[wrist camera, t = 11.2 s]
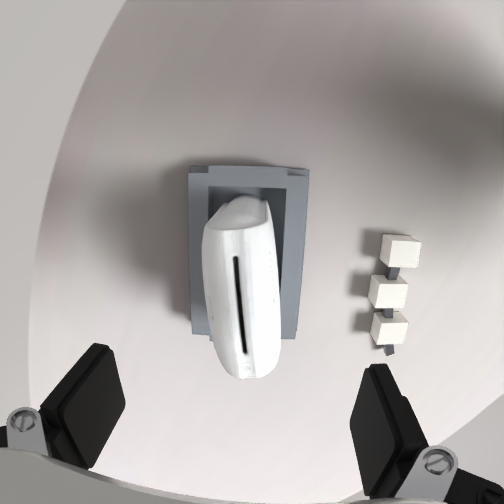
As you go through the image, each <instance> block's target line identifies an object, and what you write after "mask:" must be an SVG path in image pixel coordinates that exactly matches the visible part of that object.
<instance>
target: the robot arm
mask: <svg viewBox="0 0 504 504" xmlns="http://www.w3.org/2000/svg"><path fill="white" fill-rule="evenodd" d="M40 407H41V408H40V410H39V411H37V410H35V409H33V408H29V407H22V408H19V409H17V410H15V411H13V412H12V413H11V414H10V415H9V416H8V419H7V423H6V424H7V425H6V426H2V427H0V504H265V503H247V502H235V501H224V500H216V499H208V498H201V497H194V496H188V495H182V494H176V493H171V492H166V491H161V490H157V489H152V488H148V487H143V486H139V485H135V484H132V483H128V482H124V481H121V480H117V479H114V478H110V477H107V476H104V475H101V474H98V473H94V472H91V471H88V469H89V468H92V467H93V466H94V464H95V463H96V461H97V459H98V457H99V455H100V453H101V451H102V449H103V447H104V446H105V444H106V442H107V440H108V438H109V436H110V434H111V432H112V431H113V429H114V427H115V425H116V423H117V421H118V419H119V418H120V416H121V414H122V412H123V410H124V408H125V398H124V394H123V390H122V386H121V382H120V378H119V374H118V370H117V366H116V361H115V357H114V353H113V351H112V350H111V349H110V348H109V346H108V345H104V344H98V343H94V344H92V345H91V346H90V348H89V349H88V350H87V351H86V352H85V353H84V354H83V356H82V357H81V358H80V359H79V360H78V361H77V363H76V364H75V365H74V366H73V367H72V368H71V370H70V371H69V372H68V373H67V374H66V375H65V377H64V378H63V379H62V380H61V381H60V382H59V384H58V385H57V386H56V387H55V388H54V390H53V391H52V392H51V393H50V394H49V396H48V397H47V398H46V399H45V401H44V402H43V403H42V404H41V405H40ZM350 430H351V434H352V438H353V443H354V447H355V452H356V456H357V461H358V465H359V470H360V475H361V480H362V484H363V489H364V494H365V496H369V497H370V500H361V501H352V502H337V503H317V504H504V489H503V488H502V487H501V486H500V485H498V484H496V483H494V482H491V481H489V480H486V479H484V478H481V477H478V476H476V475H473V474H471V473H468V472H466V471H464V470H461V469H459V468H457V467H458V459H457V457H456V455H455V453H453V452H452V451H451V450H450V449H448V448H446V447H443V446H430V447H429V445H428V443H427V440H426V438H425V436H424V433H423V431H422V429H421V427H420V425H419V422H418V420H417V418H416V416H415V414H414V411H413V409H412V407H411V405H410V403H409V401H408V399H407V398H406V397H405V396H402V395H401V393H400V390H399V388H398V386H397V384H396V382H395V380H394V378H393V376H392V374H391V371H390V369H389V367H388V365H387V364H371V365H370V367H369V368H366V369H365V371H364V374H363V378H362V381H361V385H360V388H359V392H358V395H357V399H356V402H355V405H354V408H353V412H352V415H351V418H350Z"/></svg>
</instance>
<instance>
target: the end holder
mask: <svg viewBox="0 0 504 504" xmlns="http://www.w3.org/2000/svg"><path fill="white" fill-rule="evenodd" d="M308 183H309V170H304V169H287V168H286V167H267V166H234V165H209V166H190V173H188V247H189V282H190V305H191V324H192V334H198V335H210V341H213V339H212V335H211V330H210V325H209V319H208V313H207V307H206V300H205V292H204V282H203V270H202V241H203V232H204V227H205V225H206V224H207V223H208V221H209V220H210V219H211V218H212V217H213V216H214V215H215V213H216V212H217V211H218V210H219V209H220V207H221V206H222V205H223V204H224V203H229V202H230V201H231V200H232V199H234V198H235V197H237V196H240V195H254V196H256V197H258V198H260V199H261V200H267V202H268V205H269V208H270V212H271V217H272V223H273V230H274V238H275V246H276V256H277V267H278V279H279V294H280V315H281V339H295V335H296V331H297V323H298V313H299V303H300V293H301V282H302V270H303V258H304V246H305V232H306V217H307V201H308Z"/></svg>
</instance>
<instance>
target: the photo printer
mask: <svg viewBox="0 0 504 504" xmlns="http://www.w3.org/2000/svg"><path fill="white" fill-rule="evenodd" d="M202 270H203V282H204V292H205V300H206V307H207V313H208V319H209V325H210V330H211V335H212V339H213V343H214V347H215V349H216V352H217V355H218V357H219V360H220V362H221V364H222V365H223V367H224V369H225V370H226V371H227V372H228V373H229V374H230V375H231V376H233V377H235V378H238V379H243V378H247V377H253V378H260V377H263V376H265V375H266V374H268V373H269V372H270V371H272V370H273V369H274V367H275V366H276V364H277V361H278V358H279V354H280V347H281V315H280V294H279V279H278V267H277V256H276V246H275V238H274V230H273V223H272V217H271V212H270V208H269V205H268V202H267V200H261V199H260V198H258V197H256V196H254V195H240V196H237V197H235V198H234V199H232V200H231V201H230V202H229V203H224V204H223V205H222V206H221V207H220V209H219V210H218V211H217V212H216V213H215V215H214V216H213V217H212V218H211V219H210V220H209V221H208V223H207V224H206V225H205V227H204V232H203V241H202Z"/></svg>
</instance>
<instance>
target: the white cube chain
mask: <svg viewBox="0 0 504 504" xmlns="http://www.w3.org/2000/svg"><path fill="white" fill-rule="evenodd" d="M420 248H421V242H420V241H419V240H417V239H415V238H413V237H412V236H404V235H389V234H383V237H382V245H381V253H380V260H381V261H383V262H384V263H385V264H386V265H387V266H388V267H387V270H386V274H385V275H371V281H370V288H369V294H368V299H369V300H370V302H371V303H372V304H373V306H374V307H375V308H382V312H374V316H373V321H372V326H371V330H370V334H371V336H372V337H373V339H374V341H375V343H376V345H383V348H384V353H385V354H386V356H389V355H391V354H394V346H393V344H403V343H404V339H405V336H406V332H407V328H408V324H409V322H408V321H407V320H406V318H405V317H404V316H403V315H402V314H401V312H393V308H404V304H405V299H406V294H407V289H408V283H407V282H406V281H405V280H403V279H402V278H401V277H400V276H399V275H398V273H399V270H400V267H407V268H417V266H418V260H419V254H420Z"/></svg>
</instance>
